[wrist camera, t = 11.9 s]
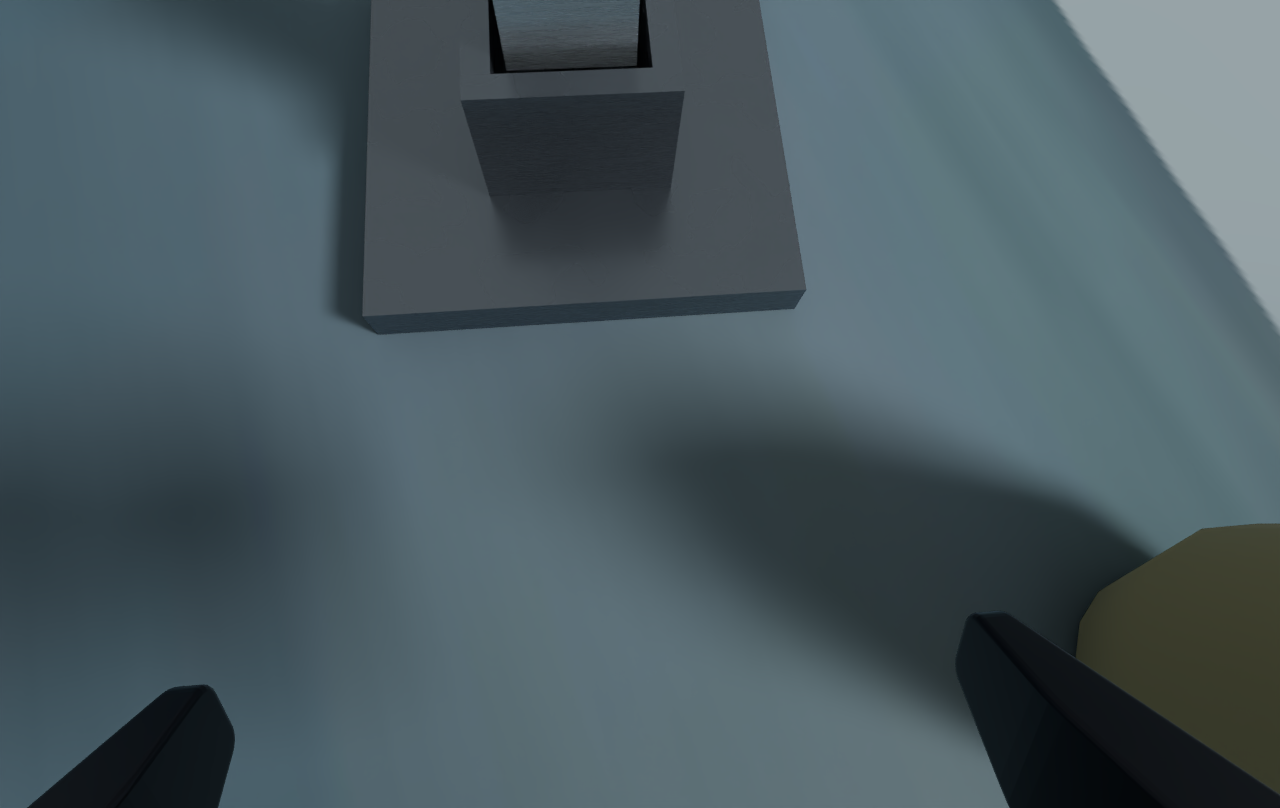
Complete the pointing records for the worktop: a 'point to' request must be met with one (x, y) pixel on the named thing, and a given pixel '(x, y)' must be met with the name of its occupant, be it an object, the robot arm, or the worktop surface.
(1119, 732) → the robot arm
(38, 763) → the worktop surface
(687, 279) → the stand
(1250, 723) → the squeeze bottle
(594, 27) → the block
